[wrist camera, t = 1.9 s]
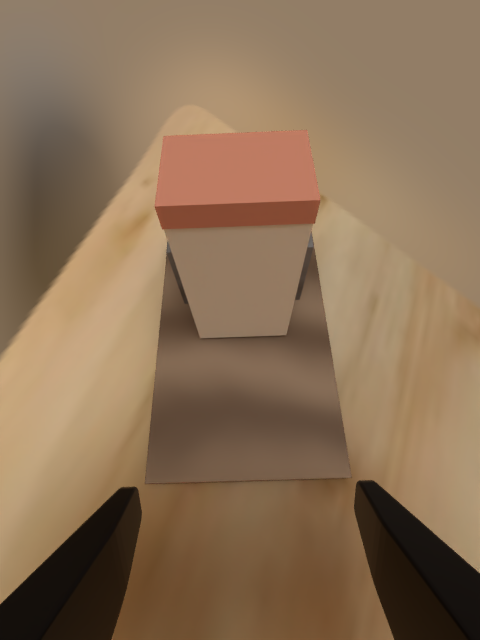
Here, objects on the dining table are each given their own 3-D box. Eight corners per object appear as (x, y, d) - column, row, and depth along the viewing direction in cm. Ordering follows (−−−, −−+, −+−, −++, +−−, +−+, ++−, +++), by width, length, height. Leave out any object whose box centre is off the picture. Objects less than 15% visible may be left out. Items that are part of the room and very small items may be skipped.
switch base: (347, 478, 20) (391, 473, 14) (149, 483, 20) (104, 481, 14) (308, 233, 29) (325, 162, 22) (171, 238, 29) (149, 169, 22)
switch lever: (287, 335, 23) (320, 200, 12) (199, 339, 23) (154, 206, 12) (282, 286, 25) (307, 129, 14) (201, 289, 25) (163, 135, 14)
